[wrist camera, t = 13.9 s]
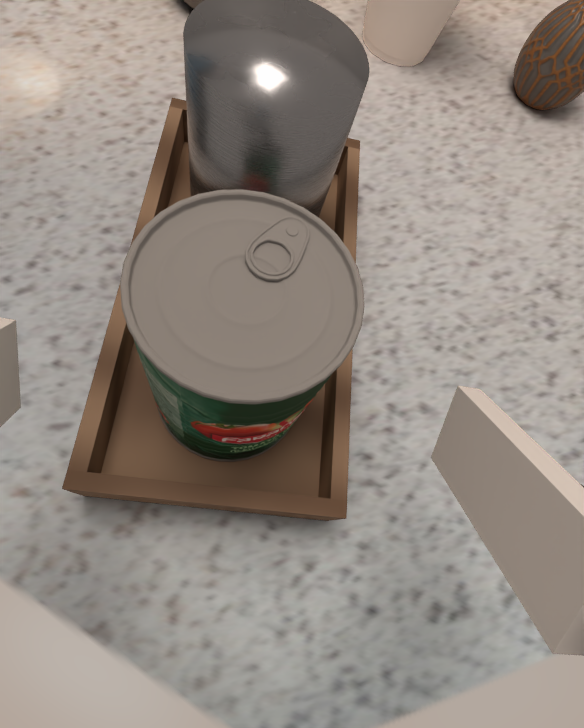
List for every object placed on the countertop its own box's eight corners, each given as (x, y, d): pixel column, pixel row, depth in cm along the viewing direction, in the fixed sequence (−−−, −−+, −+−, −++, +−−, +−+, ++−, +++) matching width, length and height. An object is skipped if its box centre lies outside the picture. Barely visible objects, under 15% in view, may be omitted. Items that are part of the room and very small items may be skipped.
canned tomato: (251, 491, 22) (289, 455, 12) (124, 409, 23) (59, 307, 12) (324, 372, 25) (401, 265, 15) (212, 302, 26) (216, 152, 16)
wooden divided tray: (327, 520, 23) (346, 518, 20) (83, 495, 22) (62, 488, 18) (344, 179, 33) (359, 140, 29) (175, 142, 31) (172, 97, 28)
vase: (550, 71, 43) (628, -34, 35) (577, 123, 41) (668, 22, 33) (490, 67, 42) (558, -44, 34) (516, 120, 39) (595, 14, 31)
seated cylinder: (218, 287, 26) (227, 132, 16) (173, 186, 28) (156, -6, 18) (332, 253, 29) (400, 101, 19) (283, 163, 31) (320, -17, 21)
